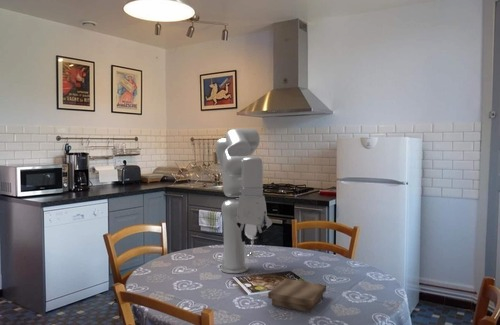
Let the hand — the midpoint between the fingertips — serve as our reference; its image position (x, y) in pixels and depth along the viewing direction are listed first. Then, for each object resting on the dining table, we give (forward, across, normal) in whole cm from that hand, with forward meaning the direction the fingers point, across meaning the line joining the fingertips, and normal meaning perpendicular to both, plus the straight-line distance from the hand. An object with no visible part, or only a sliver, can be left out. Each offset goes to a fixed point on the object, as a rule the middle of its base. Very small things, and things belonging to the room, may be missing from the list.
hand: (252, 241), depth 140 cm
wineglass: (+5, 0, 0) cm, 5 cm away
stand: (+21, +15, +7) cm, 27 cm away
